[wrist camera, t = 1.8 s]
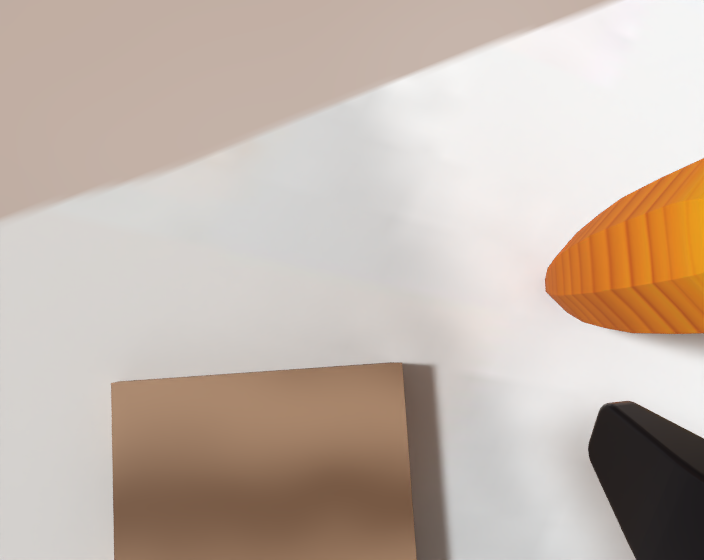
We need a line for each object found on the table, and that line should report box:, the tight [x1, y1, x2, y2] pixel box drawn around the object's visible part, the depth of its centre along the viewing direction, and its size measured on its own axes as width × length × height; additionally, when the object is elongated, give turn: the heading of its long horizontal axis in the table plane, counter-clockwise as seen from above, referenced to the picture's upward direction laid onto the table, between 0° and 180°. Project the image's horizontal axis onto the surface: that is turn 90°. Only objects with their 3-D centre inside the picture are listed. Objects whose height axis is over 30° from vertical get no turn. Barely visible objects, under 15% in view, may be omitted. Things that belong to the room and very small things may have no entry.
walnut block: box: [111, 363, 417, 560], centre depth 22 cm, size 10×10×2 cm
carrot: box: [545, 158, 704, 334], centre depth 18 cm, size 5×5×15 cm
